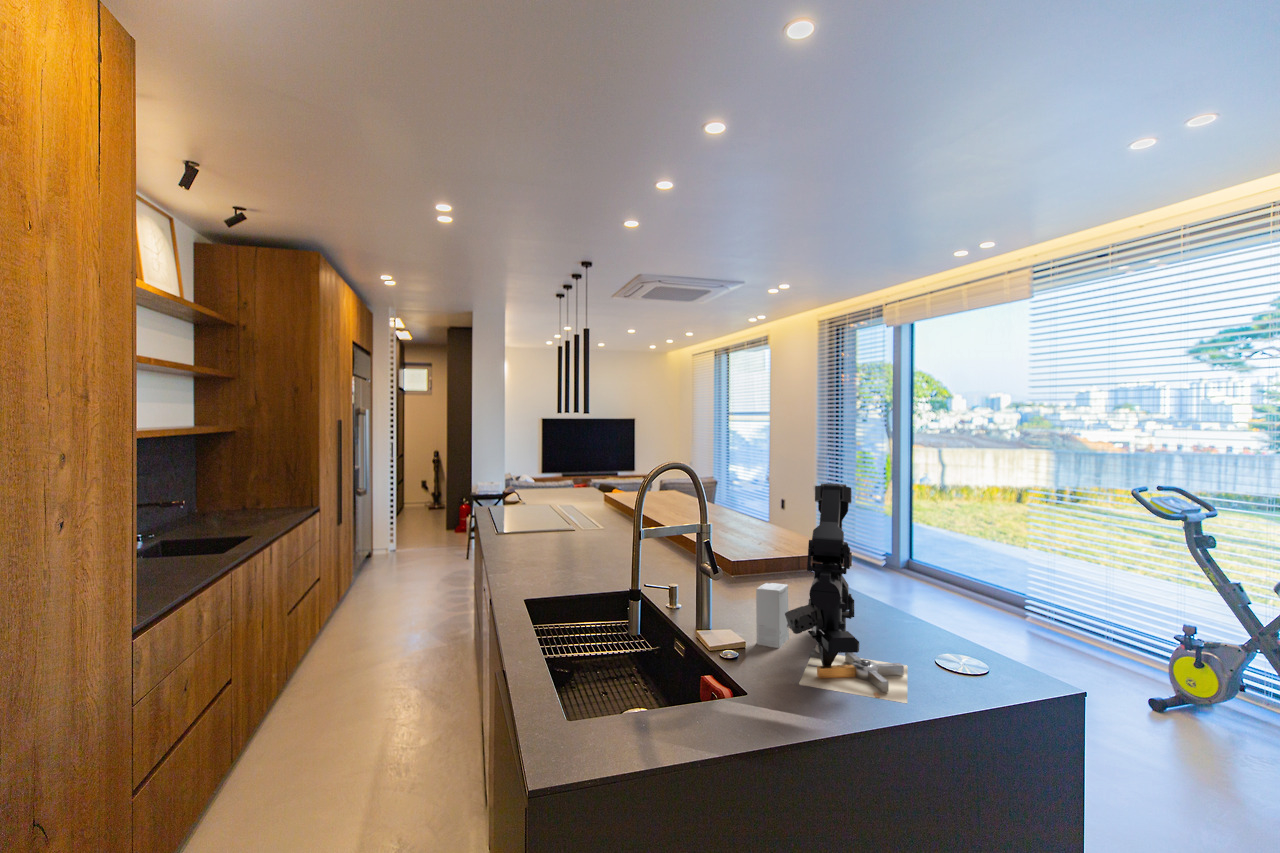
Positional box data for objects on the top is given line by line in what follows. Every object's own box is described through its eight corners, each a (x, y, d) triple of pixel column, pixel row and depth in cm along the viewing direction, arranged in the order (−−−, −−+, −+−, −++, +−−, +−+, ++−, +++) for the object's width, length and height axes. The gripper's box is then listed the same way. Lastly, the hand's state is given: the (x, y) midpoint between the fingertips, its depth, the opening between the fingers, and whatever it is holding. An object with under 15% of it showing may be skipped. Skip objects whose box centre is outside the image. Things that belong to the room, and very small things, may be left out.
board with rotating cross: (813, 657, 139) (813, 639, 139) (907, 672, 130) (907, 653, 130) (798, 691, 120) (798, 670, 120) (907, 711, 112) (907, 688, 112)
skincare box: (779, 654, 140) (780, 591, 140) (754, 650, 143) (755, 587, 143) (789, 643, 148) (789, 583, 148) (765, 639, 151) (766, 580, 151)
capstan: (803, 663, 132) (803, 648, 132) (882, 660, 133) (882, 646, 133) (834, 694, 116) (835, 678, 116) (923, 691, 117) (923, 675, 118)
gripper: (776, 582, 134) (775, 652, 134) (804, 610, 115) (803, 691, 115) (825, 582, 134) (823, 651, 135) (861, 610, 116) (859, 689, 116)
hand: (826, 669), depth 125 cm, fingers closed
